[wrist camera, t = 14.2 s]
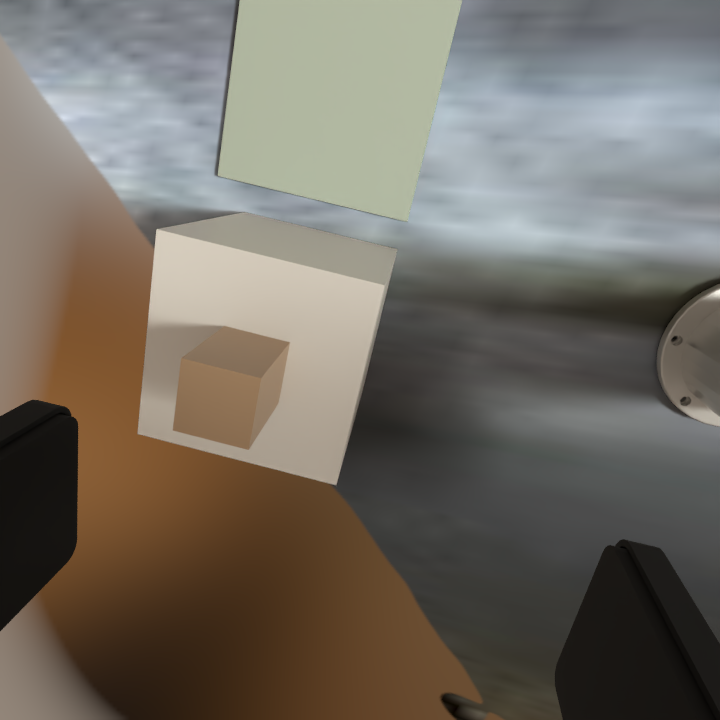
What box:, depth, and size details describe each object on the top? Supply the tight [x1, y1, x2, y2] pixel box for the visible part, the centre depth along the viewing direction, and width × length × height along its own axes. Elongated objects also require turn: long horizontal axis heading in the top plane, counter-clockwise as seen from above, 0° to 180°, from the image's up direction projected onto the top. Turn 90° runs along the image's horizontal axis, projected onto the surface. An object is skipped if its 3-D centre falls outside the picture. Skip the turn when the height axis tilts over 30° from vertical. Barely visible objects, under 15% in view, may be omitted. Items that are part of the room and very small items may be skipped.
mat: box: [218, 0, 462, 222], centre depth 41 cm, size 16×16×1 cm
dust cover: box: [138, 212, 397, 485], centre depth 37 cm, size 13×13×22 cm
